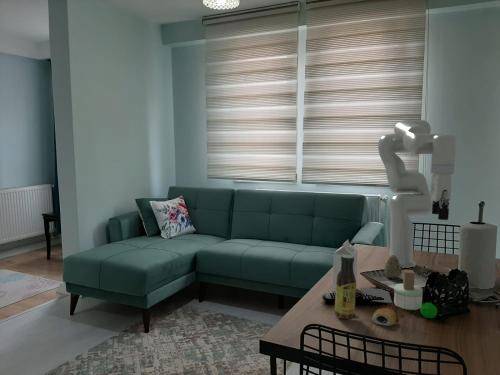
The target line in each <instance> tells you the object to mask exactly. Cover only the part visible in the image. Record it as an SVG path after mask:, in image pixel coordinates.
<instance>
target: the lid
mask: <svg viewBox="0 0 500 375" xmlns="http://www.w3.org/2000/svg"><path fill="white" fill-rule="evenodd" d="M402 277H403V279H402V280H403V281H402V283H397V284H395V285H394V288H393V289H394V291H395V292H396V293H397V294H399V295H402V296H407V297H419V296H421V295H422V296H423V291H424V290H423V288H422V287H420V286H419V285H416V284H415V277H416V276H415V271H414V270H413V269H403V276H402Z"/></svg>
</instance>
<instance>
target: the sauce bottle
mask: <svg viewBox="0 0 500 375" xmlns="http://www.w3.org/2000/svg"><path fill="white" fill-rule="evenodd" d="M341 261H342V262H341V270H340V272H339V273H338V275H337V283H336V292H335V298H334V299H335V300H334V314H335V316H336V318H339V319H342V320H350V319H352V318H353V317H354V316H355V308H356V297H357V296H356V293H357V292H356V290H357V281H356V280H355V276H354V272H353V262H354V256H352V255H342V256H341Z"/></svg>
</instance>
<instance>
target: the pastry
mask: <svg viewBox="0 0 500 375" xmlns="http://www.w3.org/2000/svg"><path fill="white" fill-rule="evenodd" d="M396 320H397V313H396V312H395V310H393V309H390V308H388V307H383V308H378V309H376V310H375V311H374V312H373V315H372V317H371V321H372V323H374V324H376V325H380V326H381V325H382V326H386V327H392V326H394V325H395V324H396V322H397V321H396Z"/></svg>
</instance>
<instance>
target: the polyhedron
mask: <svg viewBox="0 0 500 375" xmlns="http://www.w3.org/2000/svg"><path fill="white" fill-rule="evenodd" d="M419 312H420V314H421V316H423V317H424V318H426V319H434V318H436V316H437V314H438V308H437V307H436V306H435V304H433V303H431V302H424V303H422V306H421V308H419Z"/></svg>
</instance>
